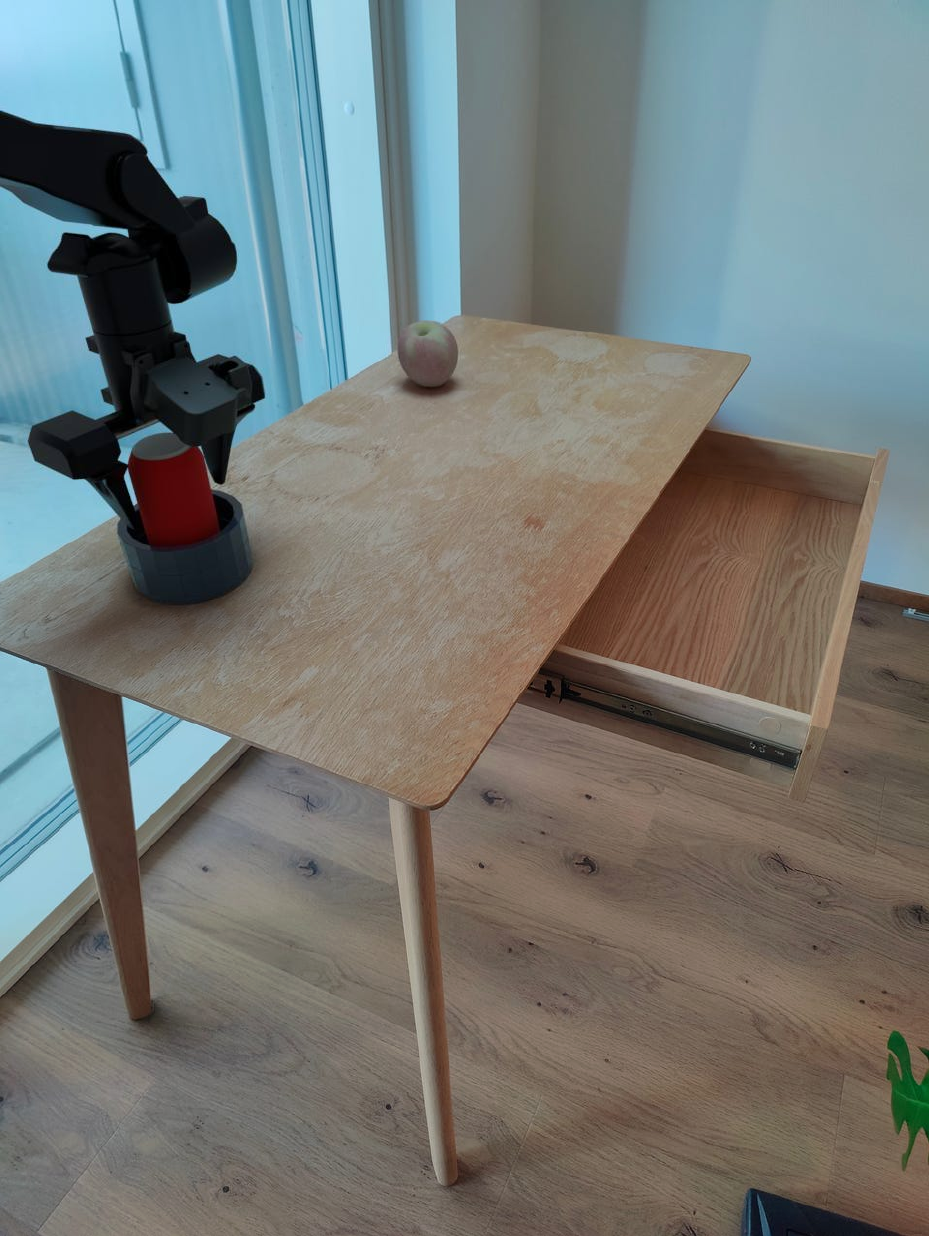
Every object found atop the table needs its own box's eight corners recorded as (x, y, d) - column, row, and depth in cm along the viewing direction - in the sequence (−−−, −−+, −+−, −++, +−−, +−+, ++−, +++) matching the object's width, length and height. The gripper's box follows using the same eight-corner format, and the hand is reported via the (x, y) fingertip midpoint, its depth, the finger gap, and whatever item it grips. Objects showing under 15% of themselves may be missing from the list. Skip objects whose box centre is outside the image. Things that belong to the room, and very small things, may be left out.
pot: (184, 619, 70) (170, 566, 67) (108, 577, 75) (91, 525, 72) (277, 562, 77) (267, 510, 74) (201, 526, 82) (190, 476, 79)
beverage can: (147, 584, 73) (110, 461, 66) (169, 545, 78) (138, 426, 71) (215, 585, 73) (186, 462, 66) (234, 546, 78) (209, 427, 71)
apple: (388, 382, 110) (384, 321, 105) (435, 368, 114) (433, 309, 109) (421, 401, 105) (419, 338, 100) (470, 387, 109) (470, 325, 104)
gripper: (86, 388, 53) (146, 588, 62) (298, 309, 64) (321, 487, 74) (-9, 351, 58) (60, 541, 68) (203, 284, 70) (236, 454, 79)
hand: (178, 504), depth 72 cm, fingers open, 9 cm apart
